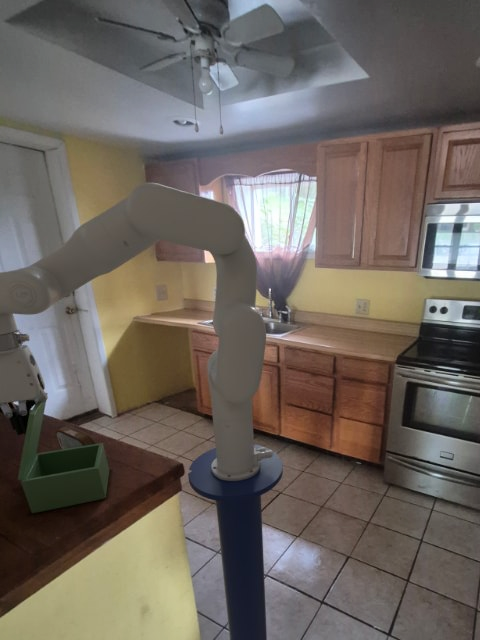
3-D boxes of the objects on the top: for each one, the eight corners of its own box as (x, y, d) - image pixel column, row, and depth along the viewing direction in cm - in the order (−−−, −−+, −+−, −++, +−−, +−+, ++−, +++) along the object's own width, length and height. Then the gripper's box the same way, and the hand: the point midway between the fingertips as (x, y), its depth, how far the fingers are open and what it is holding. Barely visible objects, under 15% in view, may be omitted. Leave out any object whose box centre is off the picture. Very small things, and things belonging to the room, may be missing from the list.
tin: (105, 465, 92) (97, 435, 88) (92, 471, 89) (85, 441, 86) (70, 449, 99) (63, 420, 95) (58, 454, 96) (50, 425, 93)
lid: (47, 393, 78) (43, 392, 78) (34, 414, 69) (29, 413, 68) (36, 452, 82) (32, 451, 82) (22, 480, 72) (17, 479, 72)
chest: (109, 470, 90) (103, 442, 87) (105, 498, 80) (98, 468, 77) (44, 482, 85) (34, 453, 82) (31, 513, 75) (20, 482, 72)
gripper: (47, 334, 73) (70, 418, 80) (-47, 341, 68) (-14, 429, 75) (38, 343, 66) (63, 433, 74) (-67, 351, 61) (-29, 447, 69)
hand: (24, 431), depth 74 cm, fingers closed
